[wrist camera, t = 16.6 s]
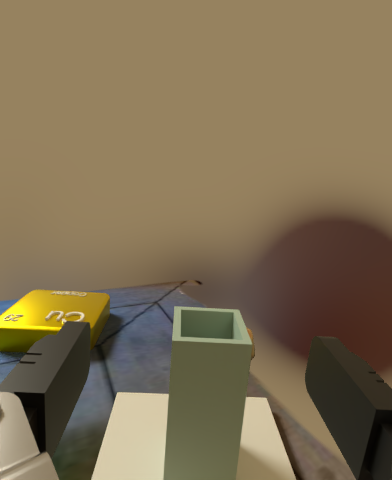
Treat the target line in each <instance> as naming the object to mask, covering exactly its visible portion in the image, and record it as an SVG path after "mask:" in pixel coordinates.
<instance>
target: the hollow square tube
mask: <svg viewBox="0 0 392 480" xmlns="http://www.w3.org/2000/svg"><path fill="white" fill-rule="evenodd" d="M252 345H253V344H252V342H251V339H250V337H249V334H248V332H247V329H246V327H245V324H244V322H243V319H242V317H241V314H240V311H239V310H231V309H213V308H195V307H177V306H175V309H174V323H173V337H172V352H171V368H170V383H169V399H168V414H167V429H166V445H165V460H164V476H163V480H236V473H237V465H238V457H239V449H240V441H241V433H242V425H243V417H244V409H245V401H246V393H247V385H248V377H249V369H250V361H251V353H252Z"/></svg>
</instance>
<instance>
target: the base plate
mask: <svg viewBox="0 0 392 480" xmlns="http://www.w3.org/2000/svg"><path fill="white" fill-rule="evenodd" d="M168 399H169V394H150V393H124V392H117V396H116V399H115V402H114V406H113V409H112V412H111V416H110V419H109V422H108V426H107V429H106V433H105V436H104V439H103V443H102V446H101V449H100V453H99V456H98V459H97V463H96V466H95V469H94V473H93V476H92V479H91V480H163V476H164V460H165V445H166V429H167V414H168ZM236 480H296V478H295V475H294V472H293V470H292V467H291V464H290V462H289V459H288V456H287V453H286V451H285V448H284V445H283V442H282V440H281V437H280V434H279V431H278V429H277V426H276V423H275V420H274V418H273V415H272V412H271V410H270V407H269V404H268V401H267V399H266V398H254V397H246V401H245V409H244V417H243V425H242V433H241V441H240V449H239V457H238V465H237V473H236Z"/></svg>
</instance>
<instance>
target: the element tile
mask: <svg viewBox="0 0 392 480" xmlns="http://www.w3.org/2000/svg"><path fill="white" fill-rule="evenodd" d="M109 315H110V297H109V295H108V294H105V293H92V292H74V291H73V292H72V291H54V290H34V291H32V292H30V293H28V294H27V295H25V296H24V297H23V298H21V299H20V300H19V301H18V302H16V303H15V304H14V305H13V306H11V307H10V308H9V309H8V310H6V311H5V312H4V313H2V314H1V315H0V351H5V352H28V350H29V349H30V348H31V347H32V346H33V344H34V343H35V342H37V341H38V340H40V339H42V338H43V337H45V336H47V335H56V334H57V333H58V332H59V330H60V329H61V328H62V326H63V325H64V324H65V322H66V321H78V322H89V323H90V328H91V332H90V350H92V349H93V348H94V346H95V344H96V342H97V340H98V338H99V336H100V334H101V332H102V330H103V328H104V326H105V324H106V322H107V320H108V318H109Z"/></svg>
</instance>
